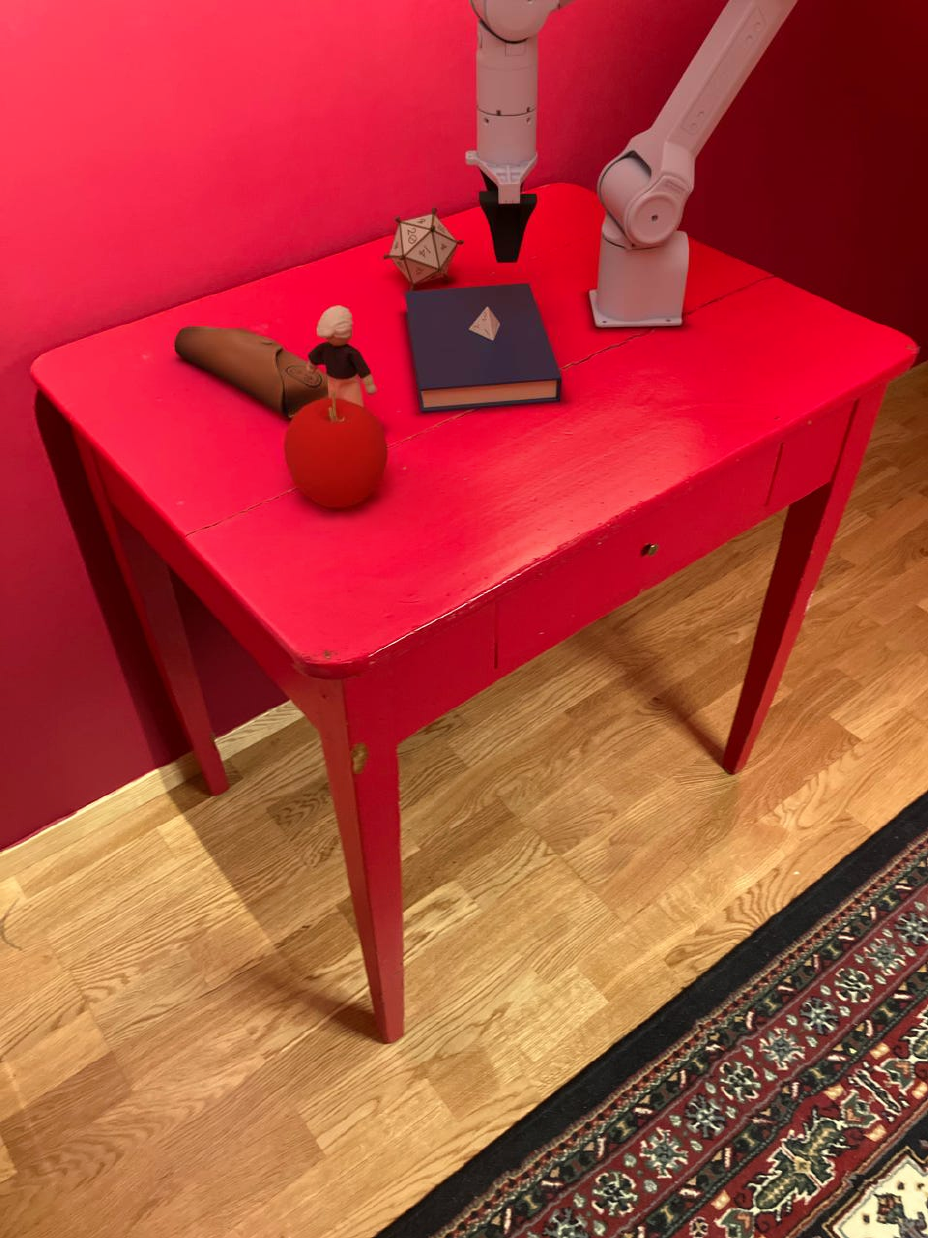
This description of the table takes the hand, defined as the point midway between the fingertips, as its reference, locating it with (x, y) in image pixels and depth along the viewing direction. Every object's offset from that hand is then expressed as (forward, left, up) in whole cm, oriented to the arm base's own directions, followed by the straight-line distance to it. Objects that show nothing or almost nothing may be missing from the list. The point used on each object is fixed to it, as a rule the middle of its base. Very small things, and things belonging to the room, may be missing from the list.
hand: (505, 244), depth 106 cm
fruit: (+16, +29, -10) cm, 34 cm away
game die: (+9, -11, -10) cm, 17 cm away
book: (+3, +6, -9) cm, 12 cm away
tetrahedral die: (+2, +6, -7) cm, 9 cm away
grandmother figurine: (+16, +19, -10) cm, 27 cm away
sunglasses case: (+26, +9, -10) cm, 29 cm away
